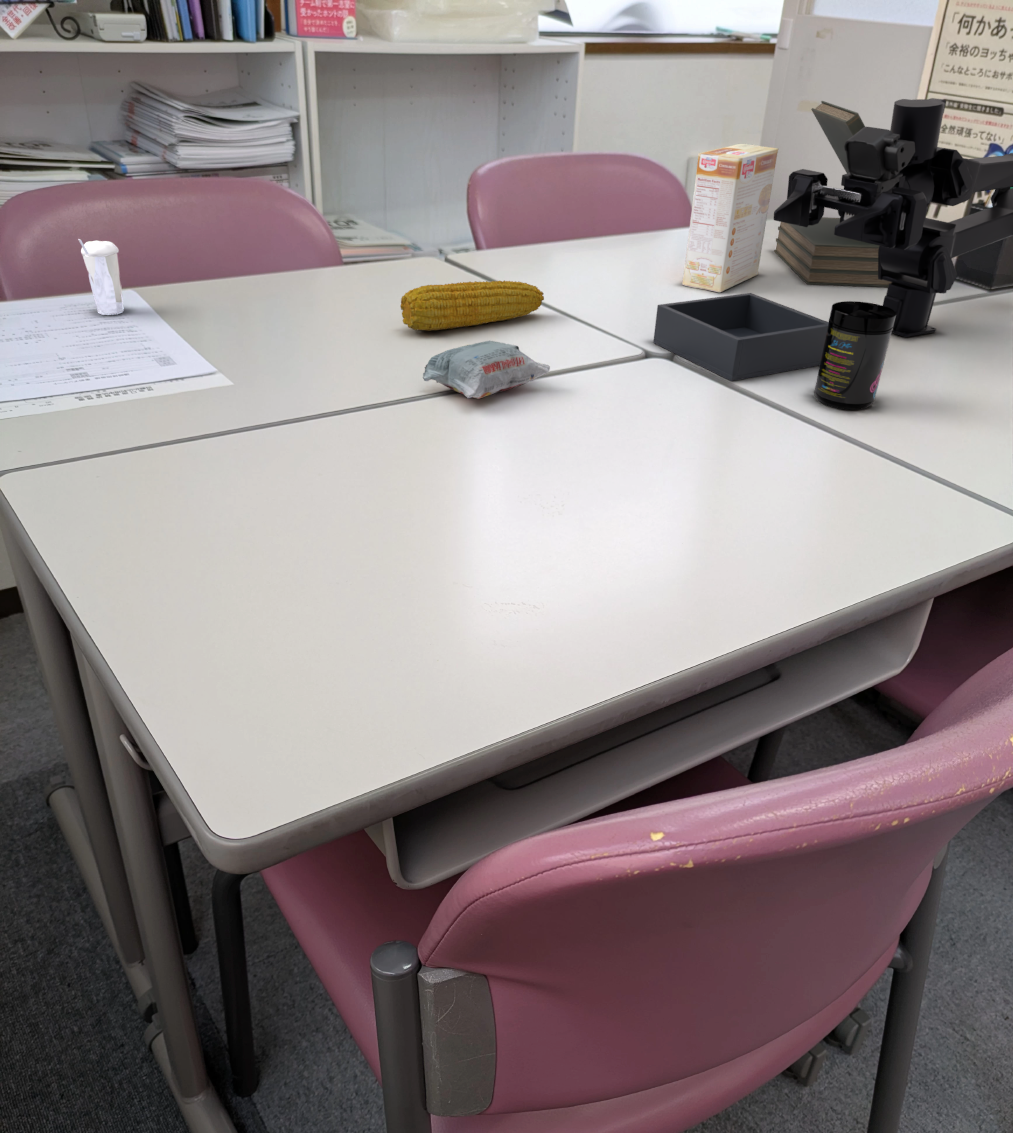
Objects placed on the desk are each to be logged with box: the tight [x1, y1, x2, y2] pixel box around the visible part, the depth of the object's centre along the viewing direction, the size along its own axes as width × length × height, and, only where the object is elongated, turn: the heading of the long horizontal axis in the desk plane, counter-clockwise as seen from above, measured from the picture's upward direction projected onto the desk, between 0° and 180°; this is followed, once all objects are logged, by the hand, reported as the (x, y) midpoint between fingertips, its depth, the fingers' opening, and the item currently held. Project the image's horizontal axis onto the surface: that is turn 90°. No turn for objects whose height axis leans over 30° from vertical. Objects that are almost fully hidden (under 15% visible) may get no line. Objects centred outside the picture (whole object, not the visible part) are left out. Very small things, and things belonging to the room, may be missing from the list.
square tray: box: [652, 292, 829, 382], centre depth 120 cm, size 16×16×5 cm
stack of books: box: [773, 100, 892, 288], centre depth 156 cm, size 23×20×25 cm
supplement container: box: [813, 300, 896, 411], centre depth 105 cm, size 7×7×10 cm
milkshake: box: [77, 238, 125, 316], centre depth 124 cm, size 4×5×10 cm
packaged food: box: [422, 340, 551, 400], centre depth 105 cm, size 9×12×5 cm
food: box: [400, 280, 545, 332], centre depth 126 cm, size 21×6×6 cm, turn 123°
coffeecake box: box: [681, 143, 779, 293], centre depth 147 cm, size 15×7×20 cm, turn 144°
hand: (804, 223), depth 111 cm, fingers open, 9 cm apart
